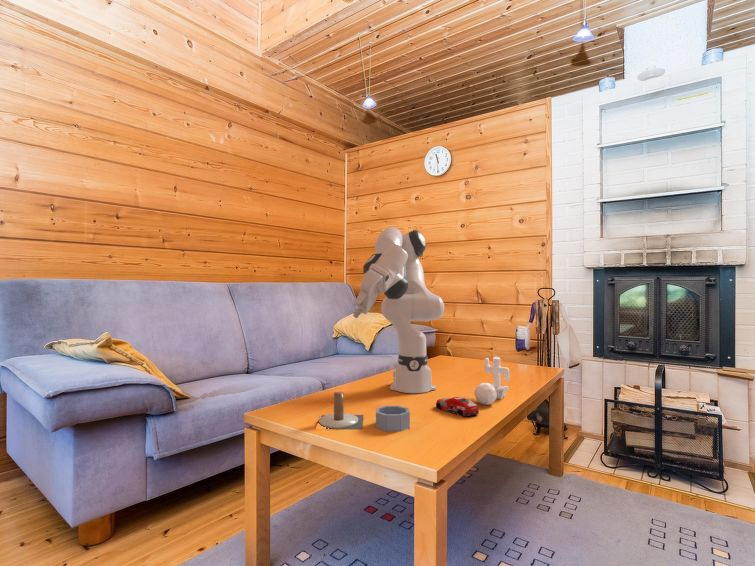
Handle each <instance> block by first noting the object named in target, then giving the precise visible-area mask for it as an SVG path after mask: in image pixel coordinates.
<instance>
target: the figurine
mask: <svg viewBox="0 0 755 566" xmlns="http://www.w3.org/2000/svg"><path fill="white" fill-rule="evenodd" d="M492 364H493V365H490V359H489V358H488V357H486V358H484V364H483V366H484V372H485V373H487V374H493V376H492V379H493V382H492V383H490V384H491V385H492V386H493V387H494V388H495V390H496V393H497V397H496V399H498V400H500V399H501V400H502V398H504V397H505V395H506V393H507V392H508V389H509V388H510V387H509V386H508V385H501V375H504V382H505V383H508V382H510V369H509V367H505V366H501V358H500V357H499V356H495V357H492Z"/></svg>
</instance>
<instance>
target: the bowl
mask: <svg viewBox="0 0 755 566" xmlns="http://www.w3.org/2000/svg"><path fill="white" fill-rule="evenodd" d="M410 415H411V413H410V409H409V407H405V406H402V405H382V406H380V407H379V406H378V407H376V408H375V428H376V429H377V430H381V431H383V432H403V431H405V430H410V429H411V427H410V426H411V423H410V422H411V421H410V420H411V418H410Z"/></svg>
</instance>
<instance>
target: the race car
mask: <svg viewBox="0 0 755 566" xmlns="http://www.w3.org/2000/svg"><path fill="white" fill-rule="evenodd" d="M435 407H436V409H437V410H440V411H441V410H443V411H446V412H450V413H451V414H452V413H453V414H455V415H458V416H459V417H470V416H471V417H472V416H474V415H479V407H478V404H476V403H474V402H473V401H471V400H470V399H468V398H466V397H461V396H454V397H450V398H448V397H447V398H446V397H443V398H439V399H437V400H436V403H435Z"/></svg>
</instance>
